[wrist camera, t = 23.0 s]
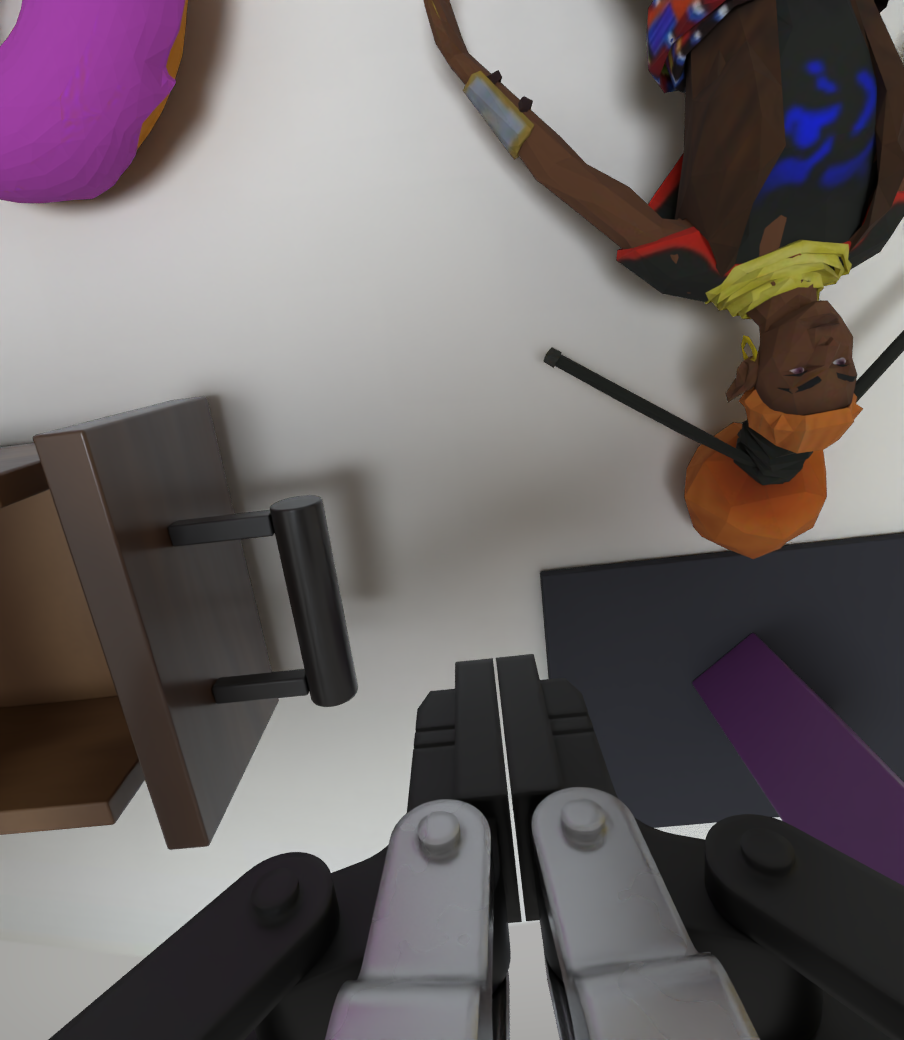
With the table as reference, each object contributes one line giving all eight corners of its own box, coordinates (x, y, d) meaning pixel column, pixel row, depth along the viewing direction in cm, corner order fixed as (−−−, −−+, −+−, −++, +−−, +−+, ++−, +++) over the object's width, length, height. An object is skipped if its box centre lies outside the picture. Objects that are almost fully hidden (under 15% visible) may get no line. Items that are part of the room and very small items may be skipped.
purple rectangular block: (833, 710, 24) (1131, 1014, 13) (771, 756, 24) (1009, 1081, 14) (752, 631, 23) (1006, 893, 12) (690, 682, 23) (880, 970, 13)
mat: (941, 793, 25) (950, 802, 25) (560, 827, 26) (562, 836, 26) (982, 523, 22) (995, 528, 21) (539, 571, 23) (541, 576, 22)
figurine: (1297, -1479, 9) (1250, 558, 13) (898, -560, 17) (956, 505, 21) (241, -1095, 10) (543, 671, 14) (347, -404, 18) (518, 579, 22)
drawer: (334, 380, 20) (272, 406, 13) (387, 689, 23) (360, 834, 16) (-187, 443, 20) (-495, 499, 14) (-60, 733, 24) (-256, 888, 17)
